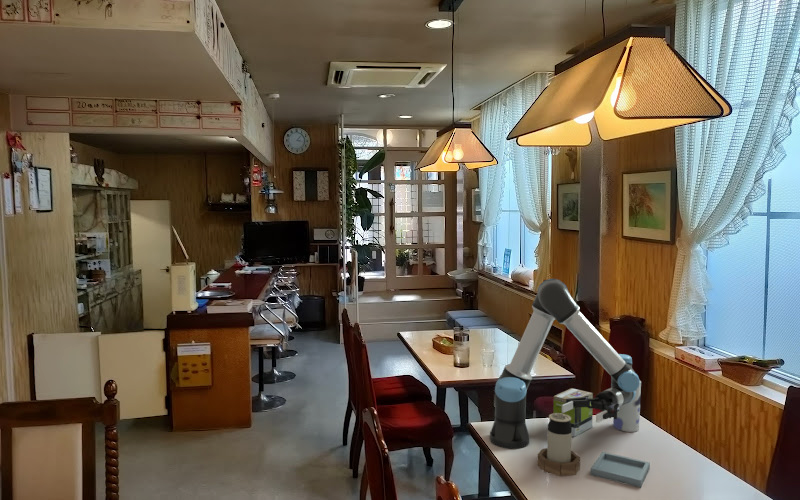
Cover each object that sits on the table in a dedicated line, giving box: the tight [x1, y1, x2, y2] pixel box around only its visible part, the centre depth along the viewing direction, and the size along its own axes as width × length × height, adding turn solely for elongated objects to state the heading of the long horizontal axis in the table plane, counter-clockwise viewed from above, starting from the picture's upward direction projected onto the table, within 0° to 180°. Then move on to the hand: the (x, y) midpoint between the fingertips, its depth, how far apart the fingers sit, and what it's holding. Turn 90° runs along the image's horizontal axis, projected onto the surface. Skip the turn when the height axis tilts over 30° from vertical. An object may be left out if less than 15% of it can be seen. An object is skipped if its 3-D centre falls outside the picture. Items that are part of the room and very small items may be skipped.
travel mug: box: [546, 413, 572, 463], centre depth 201 cm, size 8×8×18 cm
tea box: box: [552, 387, 594, 437], centre depth 237 cm, size 15×10×15 cm
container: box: [612, 380, 642, 433], centre depth 239 cm, size 10×10×20 cm
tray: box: [590, 451, 651, 489], centre depth 199 cm, size 16×16×2 cm
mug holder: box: [536, 447, 581, 477], centre depth 202 cm, size 13×13×4 cm
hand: (579, 413), depth 207 cm, fingers open, 13 cm apart
